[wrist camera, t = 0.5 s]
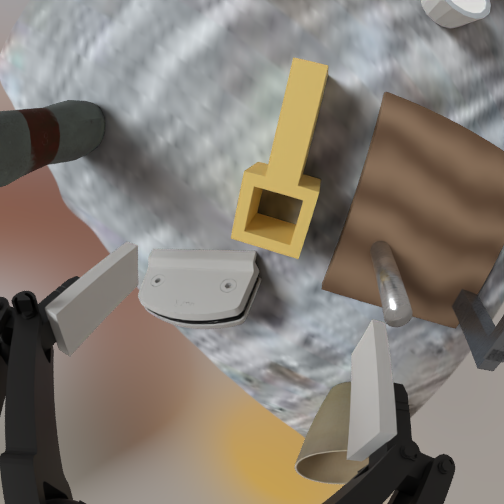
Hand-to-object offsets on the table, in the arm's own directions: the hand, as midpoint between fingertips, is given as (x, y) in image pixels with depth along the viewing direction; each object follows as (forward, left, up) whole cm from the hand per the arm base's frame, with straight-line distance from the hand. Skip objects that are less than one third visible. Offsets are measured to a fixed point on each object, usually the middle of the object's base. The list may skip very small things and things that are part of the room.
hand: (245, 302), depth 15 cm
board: (-2, +18, -22) cm, 28 cm away
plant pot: (+31, +20, -22) cm, 43 cm away
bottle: (-3, -32, -22) cm, 39 cm away
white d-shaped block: (+15, -9, -22) cm, 28 cm away
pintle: (+3, +12, -22) cm, 25 cm away
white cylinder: (-29, +12, -22) cm, 38 cm away
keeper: (+2, +27, -22) cm, 35 cm away
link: (-5, -1, -22) cm, 22 cm away
